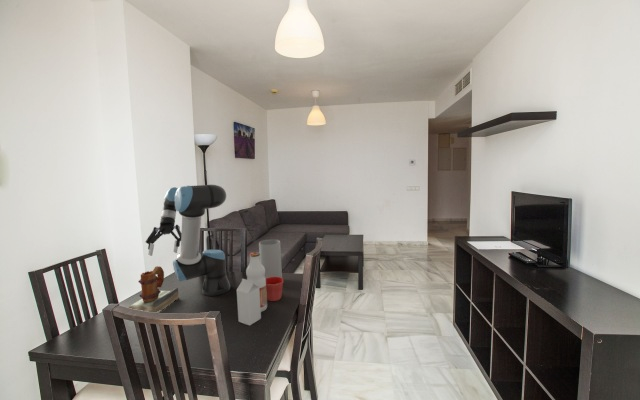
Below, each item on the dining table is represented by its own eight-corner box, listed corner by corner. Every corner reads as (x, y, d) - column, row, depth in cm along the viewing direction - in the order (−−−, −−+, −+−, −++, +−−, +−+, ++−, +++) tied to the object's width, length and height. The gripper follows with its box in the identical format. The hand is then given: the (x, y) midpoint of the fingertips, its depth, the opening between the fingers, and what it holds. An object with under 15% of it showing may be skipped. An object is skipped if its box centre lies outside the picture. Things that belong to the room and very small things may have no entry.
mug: (151, 304, 141) (148, 275, 139) (136, 304, 142) (133, 274, 140) (171, 292, 155) (168, 264, 153) (157, 291, 156) (155, 264, 155)
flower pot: (288, 295, 157) (287, 277, 156) (276, 304, 147) (276, 285, 146) (271, 292, 161) (270, 275, 160) (259, 300, 151) (258, 282, 150)
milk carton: (249, 326, 127) (247, 284, 125) (238, 321, 131) (235, 281, 129) (261, 318, 133) (258, 278, 131) (250, 314, 137) (247, 276, 135)
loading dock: (178, 298, 157) (177, 287, 156) (156, 315, 139) (155, 303, 139) (154, 297, 159) (153, 287, 158) (129, 314, 141) (128, 302, 140)
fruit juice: (270, 308, 142) (268, 253, 139) (253, 315, 136) (249, 257, 133) (261, 302, 149) (258, 249, 146) (244, 308, 144) (241, 253, 140)
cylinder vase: (256, 285, 171) (254, 244, 169) (268, 277, 183) (266, 238, 180) (275, 288, 167) (273, 245, 164) (285, 280, 178) (284, 240, 175)
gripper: (192, 219, 175) (188, 253, 165) (149, 224, 174) (143, 258, 164) (186, 214, 168) (182, 248, 158) (143, 218, 167) (135, 254, 157)
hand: (162, 253), depth 161 cm, fingers open, 13 cm apart
